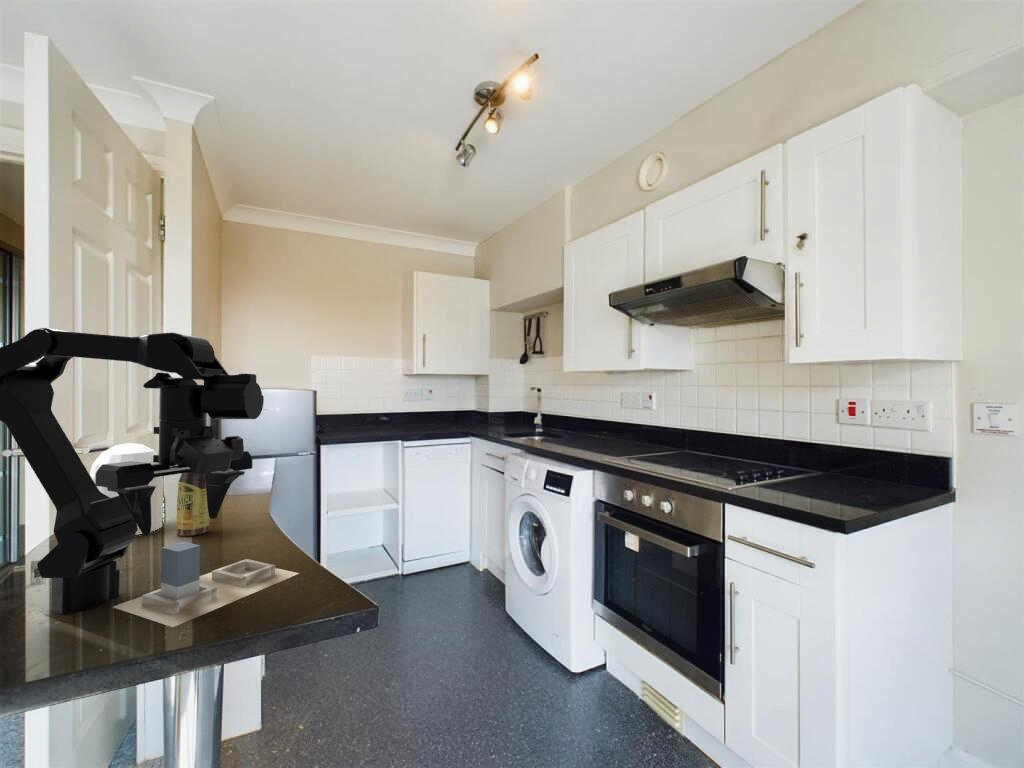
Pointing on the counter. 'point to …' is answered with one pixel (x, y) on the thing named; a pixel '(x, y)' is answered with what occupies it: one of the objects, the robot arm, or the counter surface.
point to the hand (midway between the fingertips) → (181, 526)
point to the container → (138, 455)
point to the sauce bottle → (192, 505)
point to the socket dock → (208, 593)
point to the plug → (180, 570)
